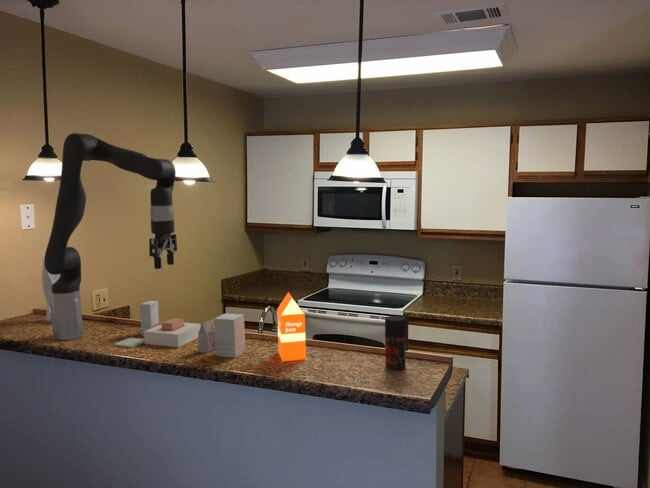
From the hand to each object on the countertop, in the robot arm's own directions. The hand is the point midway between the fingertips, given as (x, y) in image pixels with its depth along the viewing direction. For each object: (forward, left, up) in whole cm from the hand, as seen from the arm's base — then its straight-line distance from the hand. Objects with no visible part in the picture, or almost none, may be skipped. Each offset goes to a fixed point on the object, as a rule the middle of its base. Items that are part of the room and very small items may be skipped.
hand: (164, 266), depth 183 cm
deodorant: (+79, +2, -28) cm, 84 cm away
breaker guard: (-3, +7, -28) cm, 29 cm away
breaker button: (-3, +7, -24) cm, 25 cm away
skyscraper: (-68, +16, -28) cm, 75 cm away
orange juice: (+45, +3, -28) cm, 53 cm away
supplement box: (+25, -1, -28) cm, 38 cm away
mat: (-15, -1, -28) cm, 31 cm away
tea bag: (+16, +1, -28) cm, 32 cm away
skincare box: (-16, +11, -28) cm, 34 cm away
